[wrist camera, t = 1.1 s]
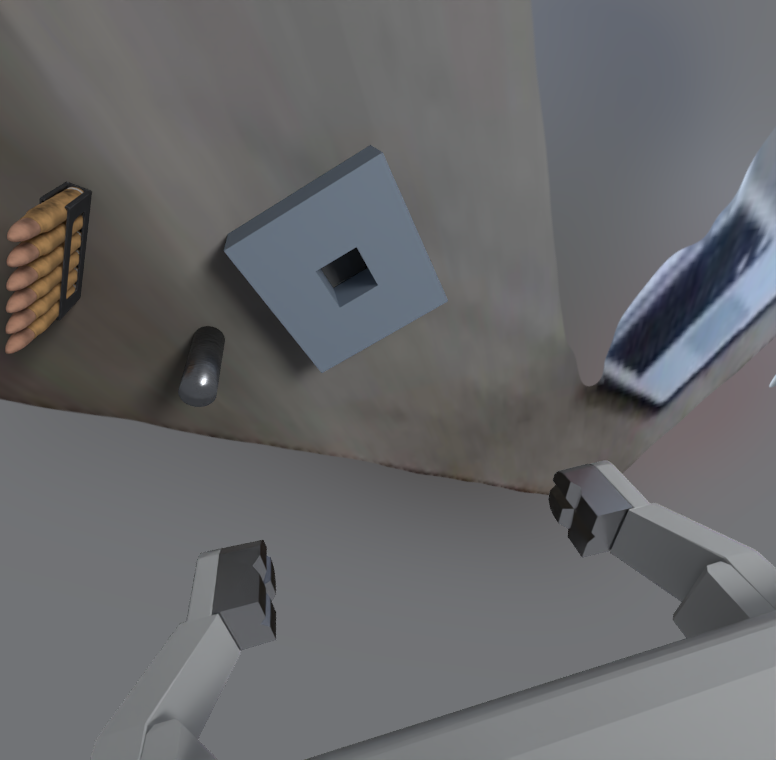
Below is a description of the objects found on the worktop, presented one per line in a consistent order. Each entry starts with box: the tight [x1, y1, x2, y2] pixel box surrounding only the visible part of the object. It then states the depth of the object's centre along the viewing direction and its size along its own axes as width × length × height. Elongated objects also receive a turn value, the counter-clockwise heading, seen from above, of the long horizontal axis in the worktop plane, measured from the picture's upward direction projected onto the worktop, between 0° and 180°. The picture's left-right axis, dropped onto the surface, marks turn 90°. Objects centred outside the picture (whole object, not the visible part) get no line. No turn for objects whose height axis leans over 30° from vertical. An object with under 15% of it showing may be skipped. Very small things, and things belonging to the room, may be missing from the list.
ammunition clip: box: [5, 182, 92, 354], centre depth 32 cm, size 11×2×12 cm, turn 154°
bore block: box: [224, 145, 448, 373], centre depth 42 cm, size 16×16×5 cm
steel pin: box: [178, 326, 225, 407], centre depth 41 cm, size 3×3×10 cm
